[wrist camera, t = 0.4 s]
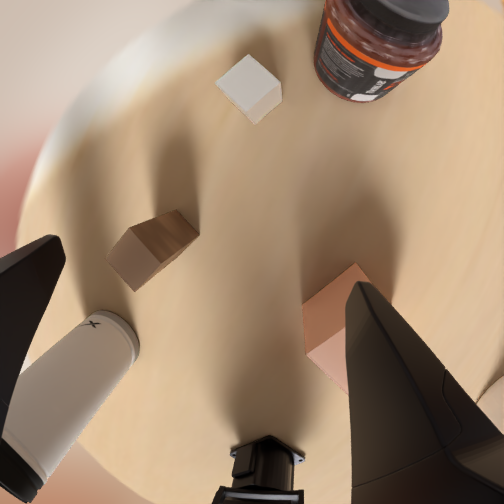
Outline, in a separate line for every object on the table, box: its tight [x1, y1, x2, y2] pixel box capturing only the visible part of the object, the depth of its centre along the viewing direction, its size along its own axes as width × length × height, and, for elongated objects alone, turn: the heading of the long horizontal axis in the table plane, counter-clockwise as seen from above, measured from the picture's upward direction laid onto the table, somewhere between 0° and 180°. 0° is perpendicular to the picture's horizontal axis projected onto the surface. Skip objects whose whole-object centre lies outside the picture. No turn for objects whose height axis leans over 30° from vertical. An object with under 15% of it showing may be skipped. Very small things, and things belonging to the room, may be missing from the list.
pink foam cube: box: [302, 262, 374, 396], centre depth 18 cm, size 5×5×7 cm
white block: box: [215, 54, 282, 125], centre depth 16 cm, size 3×3×4 cm
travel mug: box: [0, 310, 139, 503], centre depth 16 cm, size 6×7×20 cm
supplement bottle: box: [314, 0, 449, 103], centre depth 11 cm, size 6×6×11 cm
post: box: [105, 210, 199, 292], centre depth 18 cm, size 3×3×7 cm
